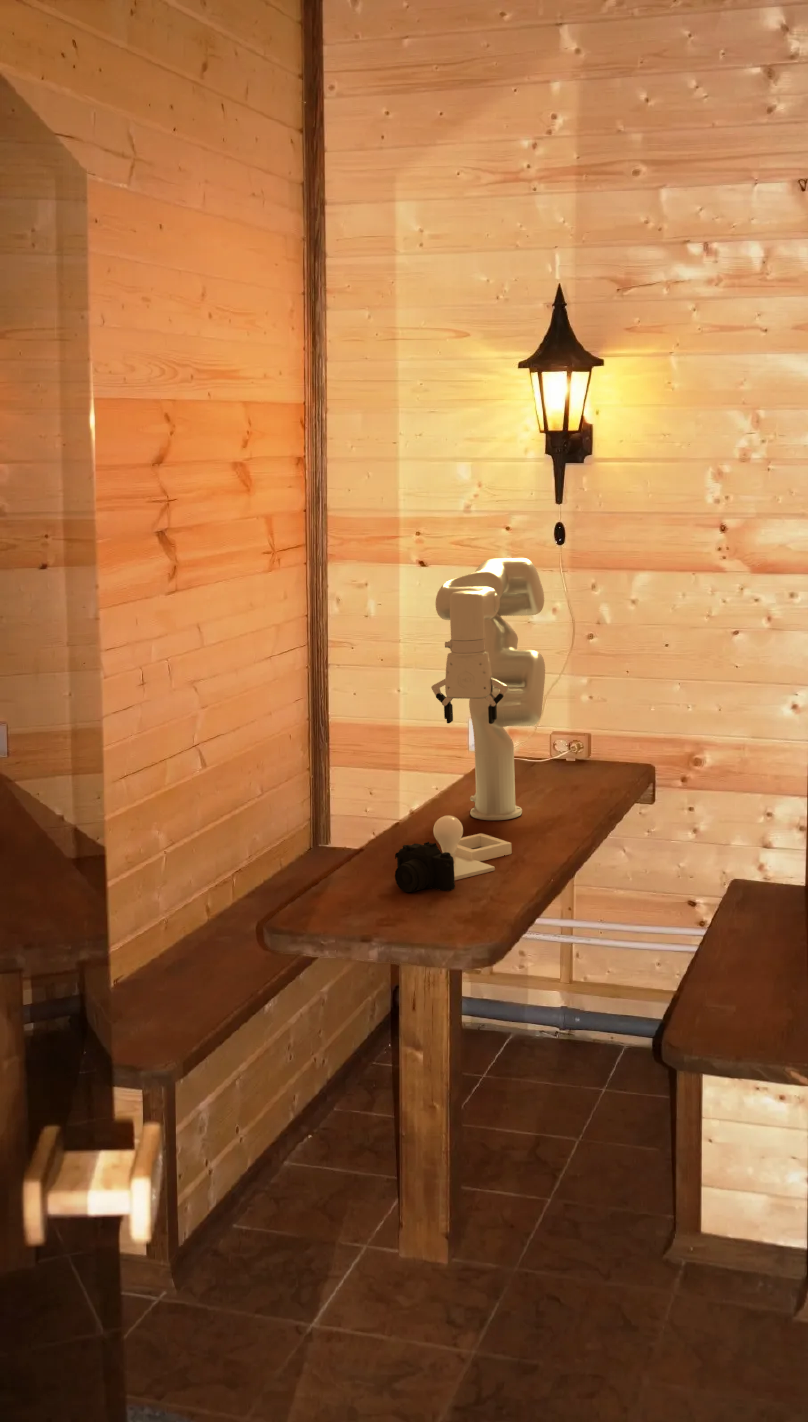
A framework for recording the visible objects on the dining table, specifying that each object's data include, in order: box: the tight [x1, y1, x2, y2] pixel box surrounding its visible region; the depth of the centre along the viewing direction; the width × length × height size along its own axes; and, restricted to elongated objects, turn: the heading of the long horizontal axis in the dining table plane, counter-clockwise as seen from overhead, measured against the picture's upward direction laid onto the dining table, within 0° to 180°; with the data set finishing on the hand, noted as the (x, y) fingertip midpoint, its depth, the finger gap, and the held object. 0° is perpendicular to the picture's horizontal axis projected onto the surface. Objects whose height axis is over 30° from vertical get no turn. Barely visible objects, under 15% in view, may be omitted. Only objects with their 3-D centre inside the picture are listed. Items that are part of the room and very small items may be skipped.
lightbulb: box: [432, 815, 464, 864], centre depth 314 cm, size 6×6×11 cm
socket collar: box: [441, 832, 513, 862], centre depth 326 cm, size 11×11×2 cm
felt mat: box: [454, 855, 496, 881], centre depth 315 cm, size 14×14×1 cm
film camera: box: [394, 841, 456, 893], centre depth 303 cm, size 15×10×9 cm, turn 47°
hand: (470, 722), depth 328 cm, fingers open, 9 cm apart
